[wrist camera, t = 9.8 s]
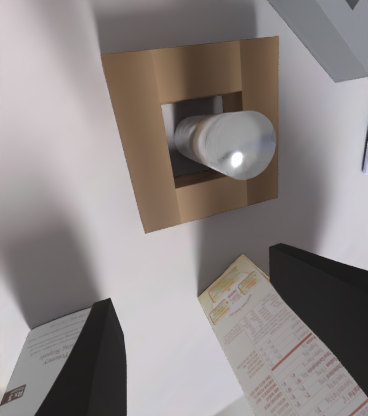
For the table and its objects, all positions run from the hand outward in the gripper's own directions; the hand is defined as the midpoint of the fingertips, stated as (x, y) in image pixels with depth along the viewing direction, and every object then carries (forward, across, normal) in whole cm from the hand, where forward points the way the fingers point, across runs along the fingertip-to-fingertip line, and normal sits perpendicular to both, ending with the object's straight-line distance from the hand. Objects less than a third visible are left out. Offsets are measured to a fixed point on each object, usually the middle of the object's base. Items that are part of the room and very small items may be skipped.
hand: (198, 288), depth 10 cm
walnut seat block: (+10, -4, -5) cm, 12 cm away
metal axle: (+10, -4, -5) cm, 12 cm away
